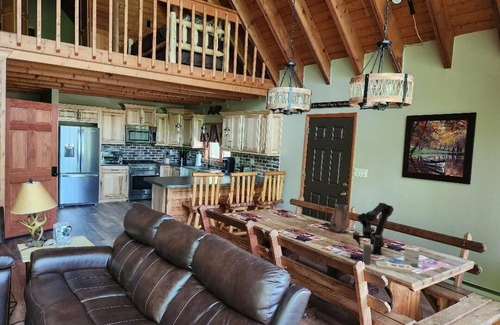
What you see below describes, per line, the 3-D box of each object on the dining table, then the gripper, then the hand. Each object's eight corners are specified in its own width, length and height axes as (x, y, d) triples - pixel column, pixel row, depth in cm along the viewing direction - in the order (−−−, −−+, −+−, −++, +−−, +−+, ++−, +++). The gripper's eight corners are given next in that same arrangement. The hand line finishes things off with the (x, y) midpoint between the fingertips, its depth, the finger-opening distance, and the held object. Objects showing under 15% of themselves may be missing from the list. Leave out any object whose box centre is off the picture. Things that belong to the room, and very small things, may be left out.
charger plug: (362, 265, 228) (364, 246, 227) (362, 263, 232) (363, 244, 231) (369, 266, 227) (371, 247, 226) (369, 264, 231) (370, 245, 230)
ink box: (418, 266, 233) (420, 249, 232) (416, 268, 229) (417, 250, 228) (405, 262, 238) (407, 246, 238) (403, 264, 235) (404, 247, 234)
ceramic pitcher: (341, 228, 330) (343, 203, 328) (354, 234, 310) (356, 207, 308) (326, 228, 324) (327, 203, 323) (338, 235, 304) (340, 207, 303)
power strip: (376, 269, 221) (377, 264, 220) (375, 265, 229) (375, 259, 229) (411, 274, 216) (411, 269, 215) (408, 269, 224) (409, 264, 224)
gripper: (354, 220, 237) (354, 240, 227) (382, 223, 233) (383, 243, 223) (352, 229, 246) (352, 248, 235) (379, 232, 241) (380, 252, 231)
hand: (367, 248), depth 231 cm, fingers open, 9 cm apart
